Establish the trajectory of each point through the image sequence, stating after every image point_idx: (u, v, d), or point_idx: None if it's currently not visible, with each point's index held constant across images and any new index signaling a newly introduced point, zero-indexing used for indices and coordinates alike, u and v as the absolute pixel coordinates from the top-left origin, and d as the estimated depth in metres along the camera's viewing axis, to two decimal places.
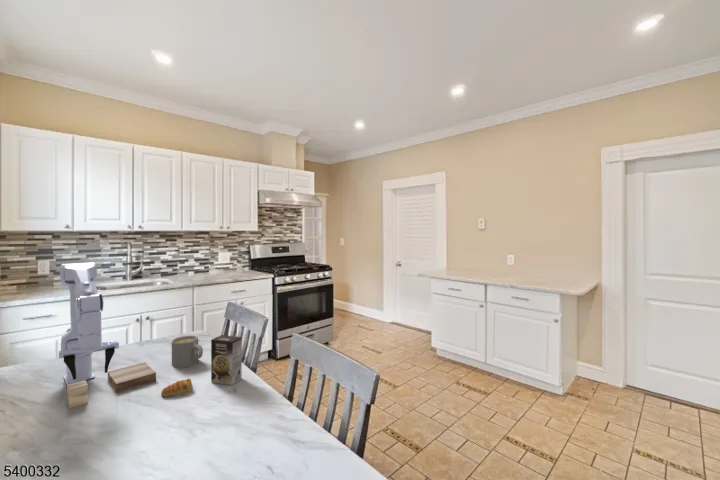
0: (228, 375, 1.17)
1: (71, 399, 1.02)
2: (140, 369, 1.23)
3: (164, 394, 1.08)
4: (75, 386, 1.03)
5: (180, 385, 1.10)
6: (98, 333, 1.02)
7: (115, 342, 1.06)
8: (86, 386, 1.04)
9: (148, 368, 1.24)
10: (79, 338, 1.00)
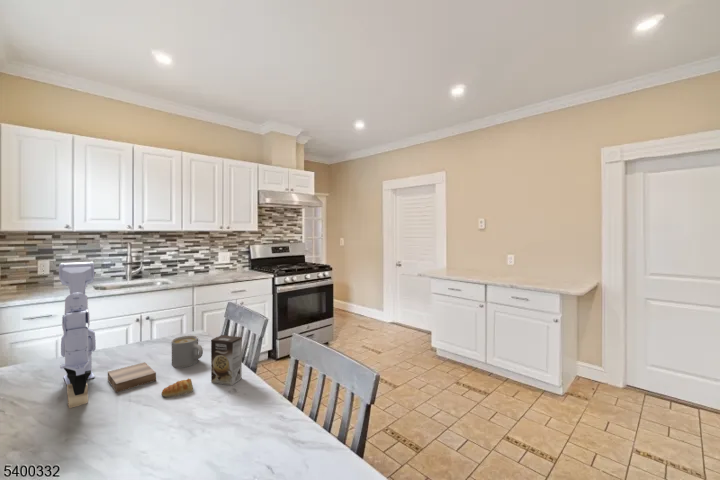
0: (228, 375, 1.17)
1: (71, 399, 1.02)
2: (140, 369, 1.23)
3: (164, 394, 1.08)
4: None
5: (181, 385, 1.10)
6: (69, 352, 1.01)
7: (79, 368, 1.00)
8: (86, 386, 1.04)
9: (148, 368, 1.24)
10: None
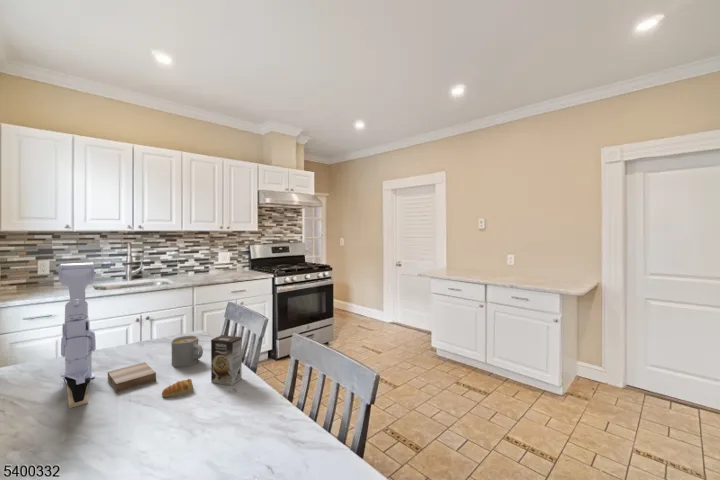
0: (228, 375, 1.17)
1: (71, 399, 1.02)
2: (140, 369, 1.23)
3: (165, 395, 1.08)
4: None
5: (181, 386, 1.10)
6: (70, 361, 1.01)
7: (79, 377, 1.00)
8: None
9: (148, 368, 1.24)
10: None
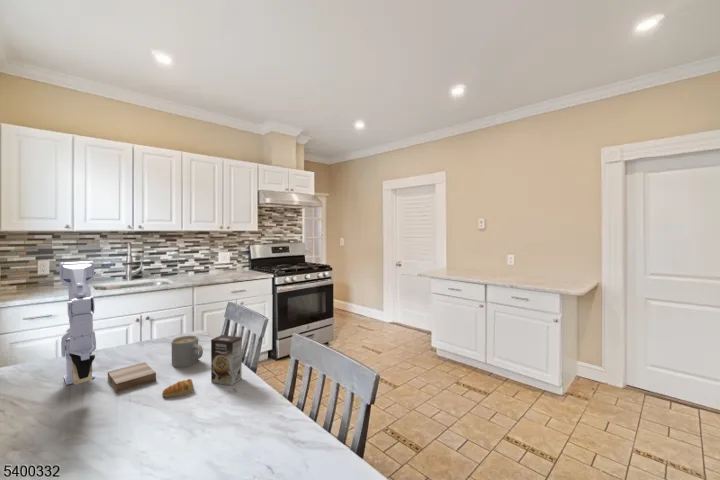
0: (228, 375, 1.17)
1: (76, 375, 1.03)
2: (140, 369, 1.23)
3: (165, 395, 1.08)
4: None
5: (182, 386, 1.10)
6: (74, 337, 1.02)
7: (84, 353, 1.01)
8: None
9: (148, 368, 1.24)
10: None
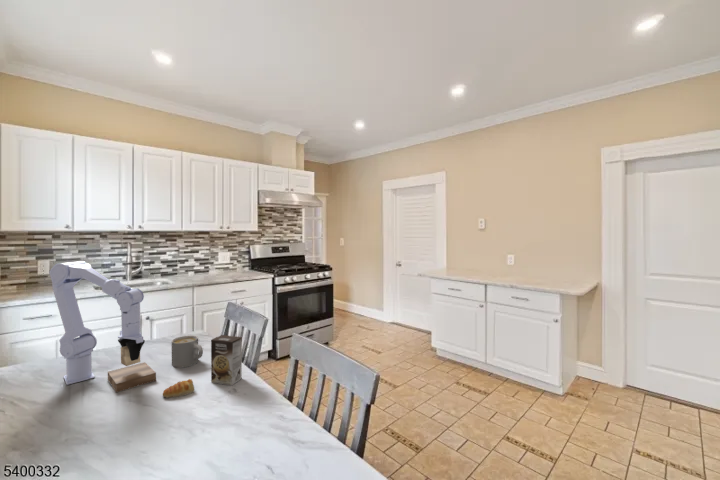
0: (228, 375, 1.17)
1: (128, 358, 1.17)
2: (140, 369, 1.23)
3: (166, 395, 1.07)
4: None
5: (182, 386, 1.10)
6: (127, 324, 1.17)
7: (138, 337, 1.16)
8: None
9: (148, 368, 1.24)
10: None
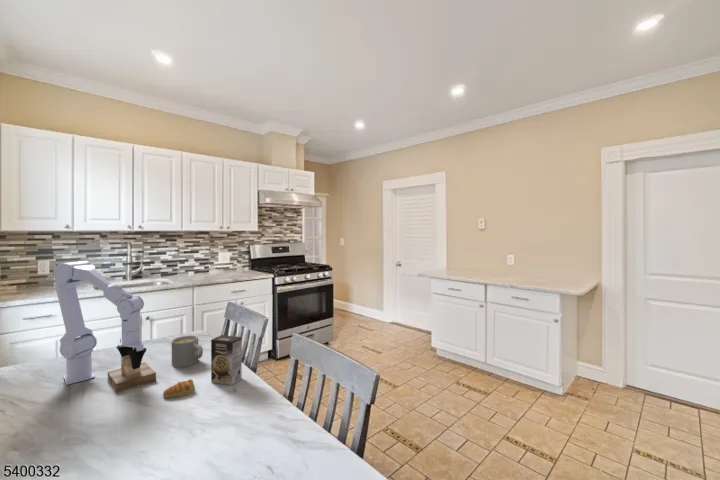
0: (228, 375, 1.17)
1: (128, 368, 1.17)
2: (140, 369, 1.23)
3: (166, 395, 1.07)
4: None
5: (183, 386, 1.10)
6: (127, 332, 1.17)
7: (138, 345, 1.16)
8: None
9: (148, 368, 1.24)
10: None
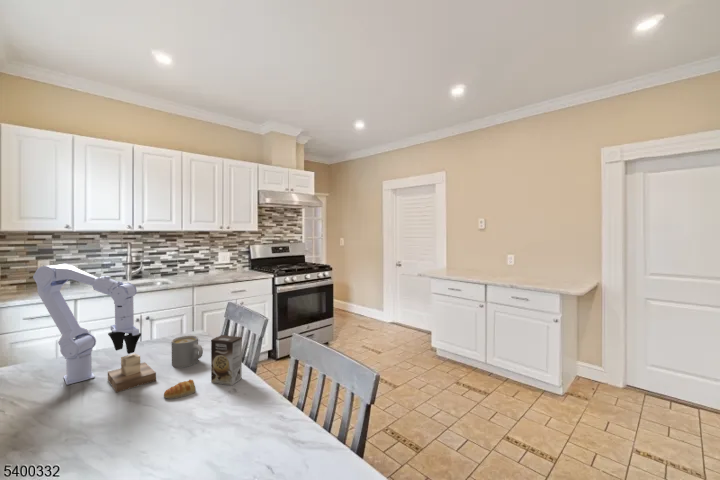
0: (228, 375, 1.17)
1: (128, 368, 1.17)
2: (140, 369, 1.23)
3: (167, 396, 1.07)
4: (130, 357, 1.19)
5: (183, 386, 1.10)
6: (122, 318, 1.20)
7: (134, 329, 1.20)
8: (139, 357, 1.20)
9: (148, 368, 1.24)
10: None
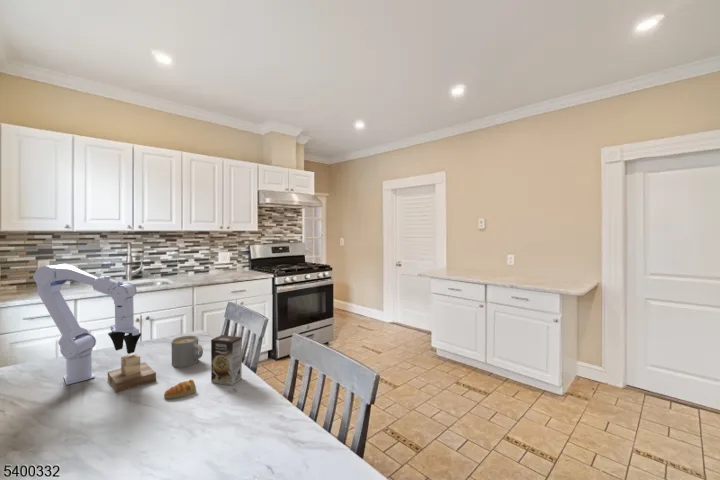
0: (228, 375, 1.17)
1: (128, 368, 1.17)
2: (140, 369, 1.23)
3: (167, 396, 1.07)
4: (130, 357, 1.19)
5: (184, 387, 1.09)
6: (122, 318, 1.20)
7: (134, 329, 1.20)
8: (139, 357, 1.20)
9: (148, 368, 1.24)
10: None
